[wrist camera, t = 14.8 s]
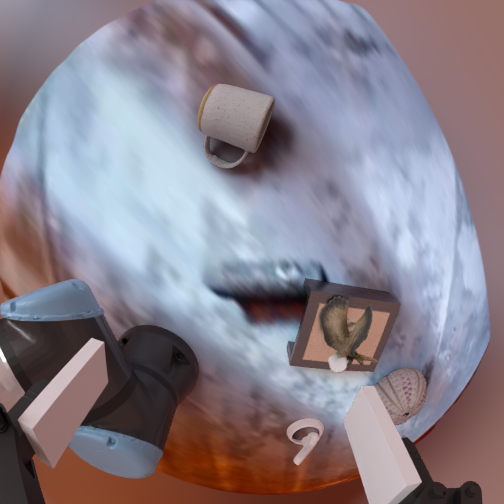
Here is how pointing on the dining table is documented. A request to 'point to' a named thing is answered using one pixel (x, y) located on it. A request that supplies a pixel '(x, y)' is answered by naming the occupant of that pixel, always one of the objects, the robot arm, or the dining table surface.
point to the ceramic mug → (234, 119)
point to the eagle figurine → (344, 334)
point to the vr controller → (306, 441)
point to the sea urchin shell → (402, 393)
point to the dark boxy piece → (311, 333)
